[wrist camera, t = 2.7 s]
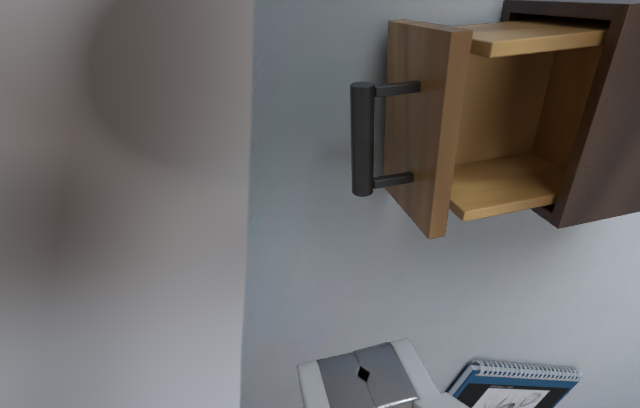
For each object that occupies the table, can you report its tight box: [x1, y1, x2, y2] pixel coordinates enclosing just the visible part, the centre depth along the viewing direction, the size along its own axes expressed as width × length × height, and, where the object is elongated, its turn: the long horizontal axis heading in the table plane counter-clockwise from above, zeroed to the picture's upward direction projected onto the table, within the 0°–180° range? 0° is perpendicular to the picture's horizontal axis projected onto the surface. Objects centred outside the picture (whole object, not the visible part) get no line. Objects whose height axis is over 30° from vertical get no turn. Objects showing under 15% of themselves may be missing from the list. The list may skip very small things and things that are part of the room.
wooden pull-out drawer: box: [350, 16, 611, 239], centre depth 25 cm, size 18×12×8 cm
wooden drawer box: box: [501, 0, 640, 229], centre depth 27 cm, size 15×14×10 cm
